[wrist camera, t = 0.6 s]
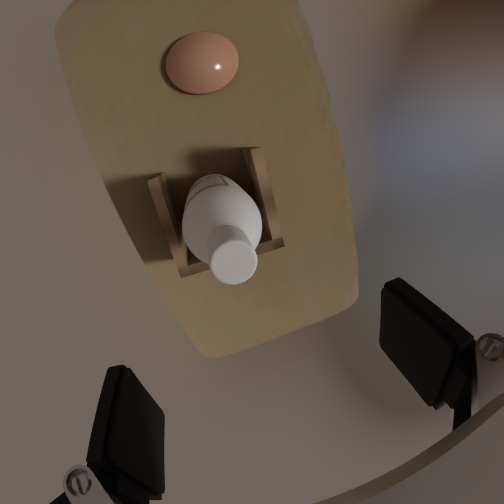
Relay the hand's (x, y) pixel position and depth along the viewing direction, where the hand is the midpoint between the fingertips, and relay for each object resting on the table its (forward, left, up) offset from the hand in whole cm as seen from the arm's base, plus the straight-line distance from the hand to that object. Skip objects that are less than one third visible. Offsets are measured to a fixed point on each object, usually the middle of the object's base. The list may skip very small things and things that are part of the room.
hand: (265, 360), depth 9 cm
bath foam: (0, 0, -28) cm, 28 cm away
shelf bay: (0, 0, -28) cm, 28 cm away
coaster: (-18, +3, -28) cm, 34 cm away
